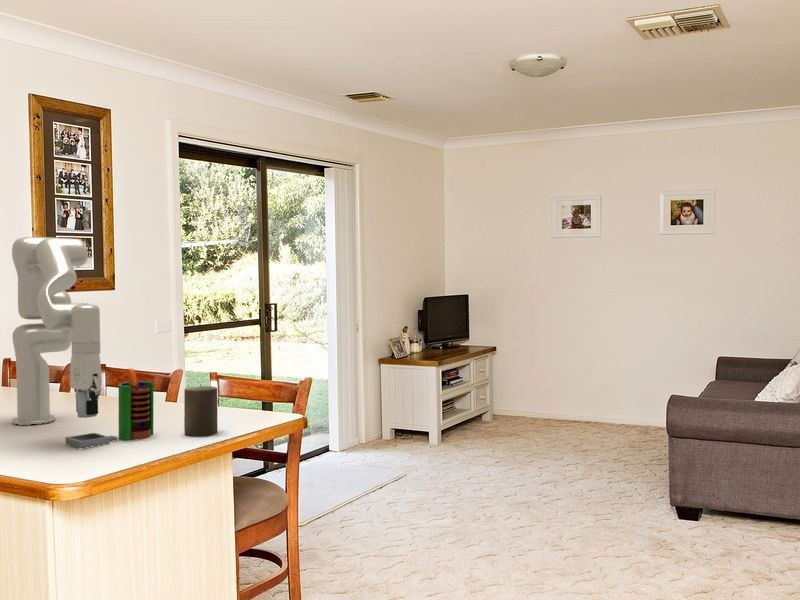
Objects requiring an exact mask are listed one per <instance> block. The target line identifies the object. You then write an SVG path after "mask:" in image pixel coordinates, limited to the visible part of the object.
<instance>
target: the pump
mask: <svg viewBox="0 0 800 600" xmlns="http://www.w3.org/2000/svg"><path fill="white" fill-rule="evenodd" d="M89 389H92V388H89ZM92 392H94V391H92ZM92 392H90V394H91V393H92ZM86 401H88V400H87V393H86V391H83V390H82V391H77V410H78V413H77V418H83V419H84V418H85V419H87V418H93V417H94V418H95V417H97V416H98V414H94V415H87V414H86Z"/></svg>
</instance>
